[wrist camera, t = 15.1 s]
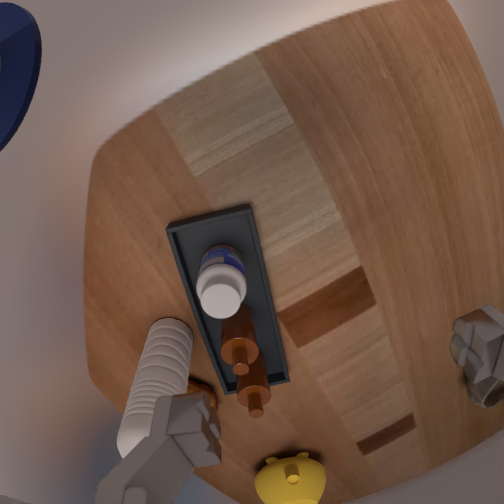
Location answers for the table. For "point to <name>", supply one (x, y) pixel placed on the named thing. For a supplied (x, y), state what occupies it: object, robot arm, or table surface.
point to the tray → (257, 293)
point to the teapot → (291, 480)
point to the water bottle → (156, 378)
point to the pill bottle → (221, 281)
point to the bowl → (486, 392)
